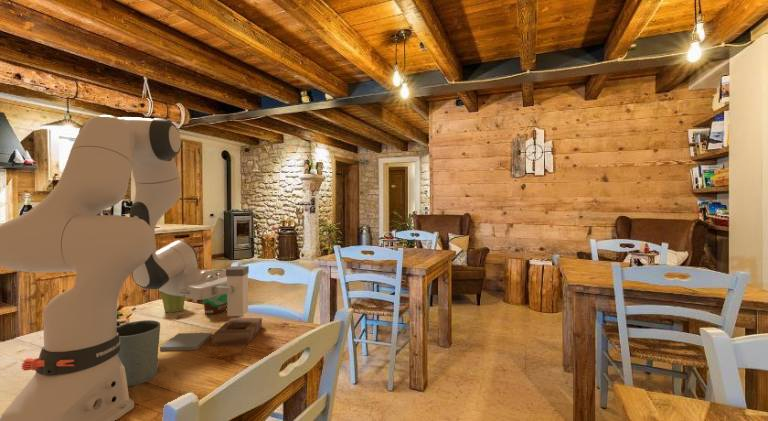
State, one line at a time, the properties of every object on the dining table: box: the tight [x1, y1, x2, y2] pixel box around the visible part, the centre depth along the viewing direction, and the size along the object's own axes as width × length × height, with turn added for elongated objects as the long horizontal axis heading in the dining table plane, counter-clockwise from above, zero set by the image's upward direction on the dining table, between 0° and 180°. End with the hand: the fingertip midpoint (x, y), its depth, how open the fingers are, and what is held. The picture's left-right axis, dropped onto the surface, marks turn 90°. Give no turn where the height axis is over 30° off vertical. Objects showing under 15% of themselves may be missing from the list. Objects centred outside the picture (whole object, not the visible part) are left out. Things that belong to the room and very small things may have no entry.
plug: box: [225, 265, 250, 317], centre depth 110 cm, size 5×5×14 cm
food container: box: [203, 293, 227, 316], centre depth 134 cm, size 12×6×10 cm, turn 168°
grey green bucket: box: [117, 319, 161, 387], centre depth 85 cm, size 10×10×12 cm
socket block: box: [211, 317, 263, 346], centre depth 111 cm, size 14×10×3 cm
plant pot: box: [158, 289, 186, 314], centre depth 135 cm, size 9×9×9 cm
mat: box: [159, 332, 213, 352], centre depth 105 cm, size 10×10×1 cm
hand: (240, 287), depth 110 cm, fingers closed on plug, 6 cm apart
